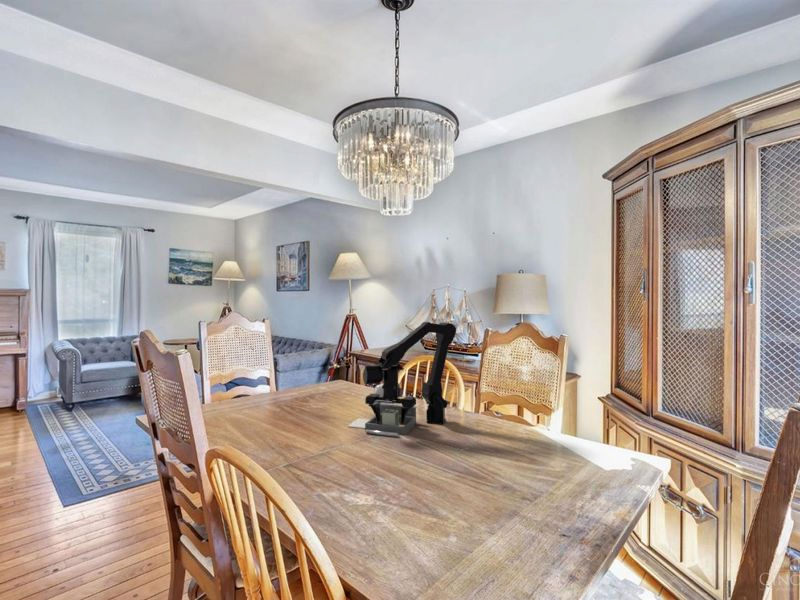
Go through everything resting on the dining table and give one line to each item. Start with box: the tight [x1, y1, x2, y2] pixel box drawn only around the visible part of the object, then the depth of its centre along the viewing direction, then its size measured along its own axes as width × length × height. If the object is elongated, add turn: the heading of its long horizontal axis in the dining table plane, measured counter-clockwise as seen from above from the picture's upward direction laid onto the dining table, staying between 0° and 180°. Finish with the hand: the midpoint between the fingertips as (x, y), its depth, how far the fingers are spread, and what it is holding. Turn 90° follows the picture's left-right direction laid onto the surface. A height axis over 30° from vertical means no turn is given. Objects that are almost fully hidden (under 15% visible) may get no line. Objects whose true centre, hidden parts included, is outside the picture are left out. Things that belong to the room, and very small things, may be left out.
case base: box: [364, 414, 416, 435], centre depth 155 cm, size 16×13×3 cm
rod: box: [365, 429, 400, 438], centre depth 146 cm, size 12×1×1 cm, turn 72°
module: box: [381, 409, 400, 426], centre depth 155 cm, size 5×5×6 cm
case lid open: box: [380, 403, 417, 424], centre depth 162 cm, size 16×2×6 cm, turn 72°
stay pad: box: [347, 417, 370, 430], centre depth 159 cm, size 7×10×1 cm
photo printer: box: [373, 382, 396, 415], centre depth 175 cm, size 10×4×12 cm, turn 134°
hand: (390, 423), depth 155 cm, fingers open, 9 cm apart
